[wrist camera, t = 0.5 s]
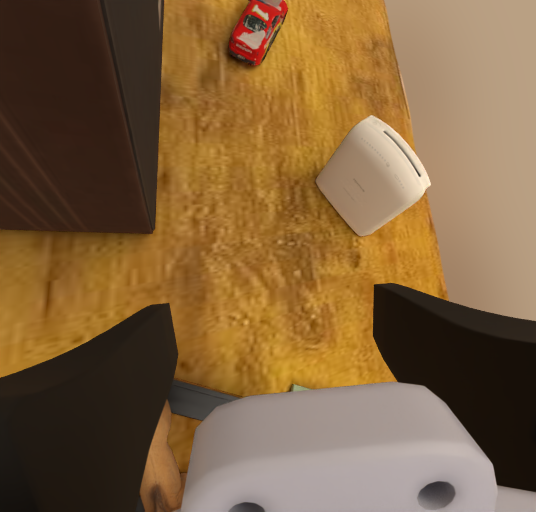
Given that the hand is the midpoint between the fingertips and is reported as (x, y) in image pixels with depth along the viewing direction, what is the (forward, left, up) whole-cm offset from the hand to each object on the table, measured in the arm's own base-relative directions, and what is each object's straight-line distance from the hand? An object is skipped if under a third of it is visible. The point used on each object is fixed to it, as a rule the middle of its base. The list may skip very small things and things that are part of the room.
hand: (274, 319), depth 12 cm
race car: (+43, +7, -25) cm, 50 cm away
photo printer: (+22, -11, -25) cm, 35 cm away
